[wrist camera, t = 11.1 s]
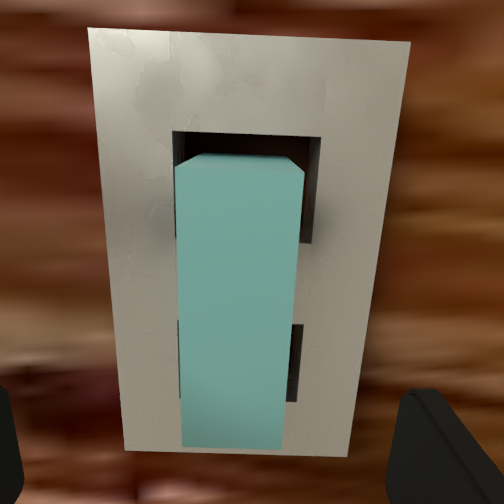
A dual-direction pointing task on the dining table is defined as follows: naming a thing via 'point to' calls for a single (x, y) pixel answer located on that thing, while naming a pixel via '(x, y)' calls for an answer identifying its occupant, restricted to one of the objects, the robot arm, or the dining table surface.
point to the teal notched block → (236, 296)
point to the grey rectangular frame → (311, 234)
